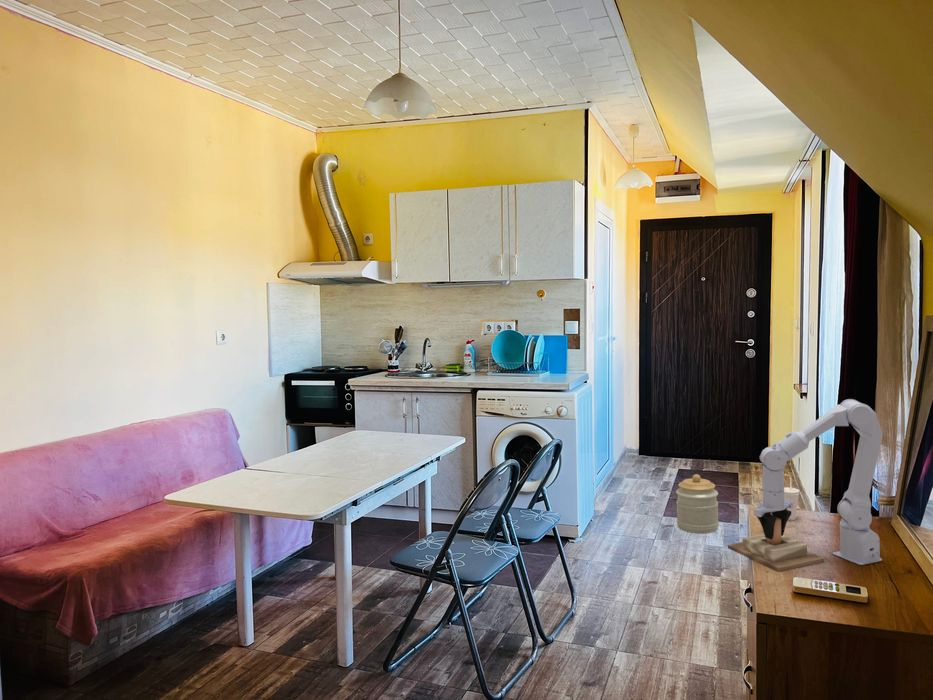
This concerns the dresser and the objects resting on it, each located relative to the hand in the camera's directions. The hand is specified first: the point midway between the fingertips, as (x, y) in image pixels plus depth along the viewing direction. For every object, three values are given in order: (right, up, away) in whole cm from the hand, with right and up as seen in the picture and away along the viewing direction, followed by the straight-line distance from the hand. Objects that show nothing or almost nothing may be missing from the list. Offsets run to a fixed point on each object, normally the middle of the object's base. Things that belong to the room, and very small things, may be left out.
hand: (774, 536), depth 200 cm
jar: (-13, -5, +26) cm, 30 cm away
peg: (0, -3, 0) cm, 3 cm away
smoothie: (+19, -3, +31) cm, 37 cm away
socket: (0, -5, 0) cm, 5 cm away
